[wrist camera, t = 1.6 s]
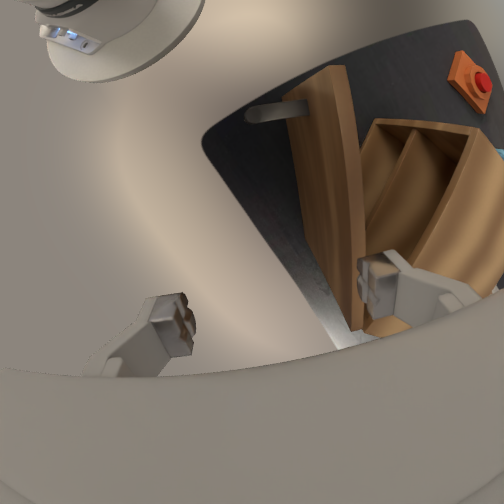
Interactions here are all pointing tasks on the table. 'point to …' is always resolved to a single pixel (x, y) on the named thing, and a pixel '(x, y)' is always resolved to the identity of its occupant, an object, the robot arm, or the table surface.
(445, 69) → the table surface
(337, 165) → the door
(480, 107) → the button box
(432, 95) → the table surface
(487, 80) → the button
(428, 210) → the cupboard
